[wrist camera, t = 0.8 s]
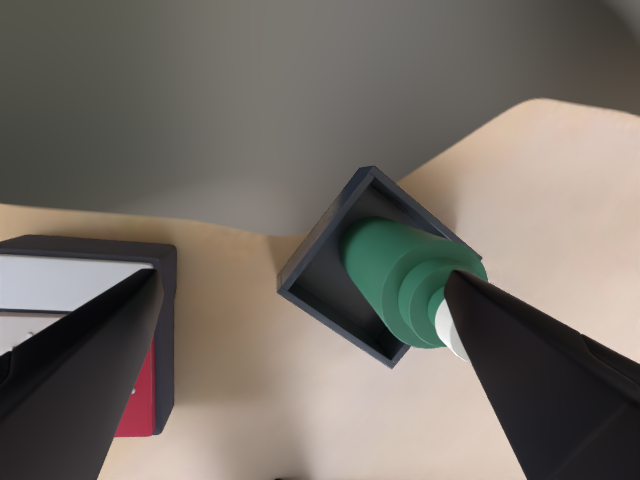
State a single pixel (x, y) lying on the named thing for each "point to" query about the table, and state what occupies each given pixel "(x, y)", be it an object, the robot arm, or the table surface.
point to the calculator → (77, 289)
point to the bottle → (407, 278)
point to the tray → (329, 275)
